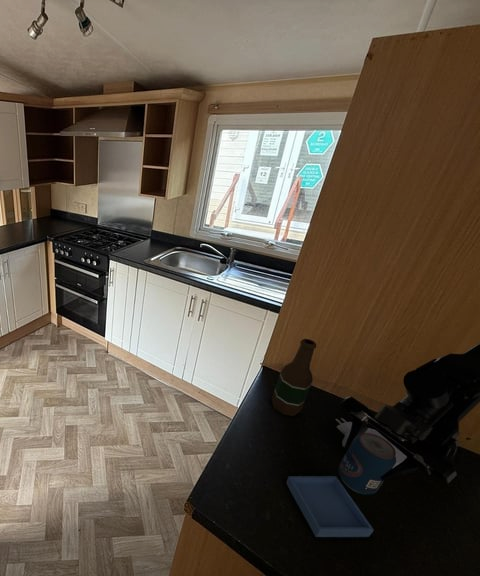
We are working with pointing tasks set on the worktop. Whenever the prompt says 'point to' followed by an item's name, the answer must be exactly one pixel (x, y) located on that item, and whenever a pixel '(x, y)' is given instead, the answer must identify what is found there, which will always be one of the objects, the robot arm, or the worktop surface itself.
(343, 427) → the charger
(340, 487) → the blue tray
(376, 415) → the robot arm
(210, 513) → the worktop surface
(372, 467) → the soda can
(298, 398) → the beer bottle
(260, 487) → the worktop surface
